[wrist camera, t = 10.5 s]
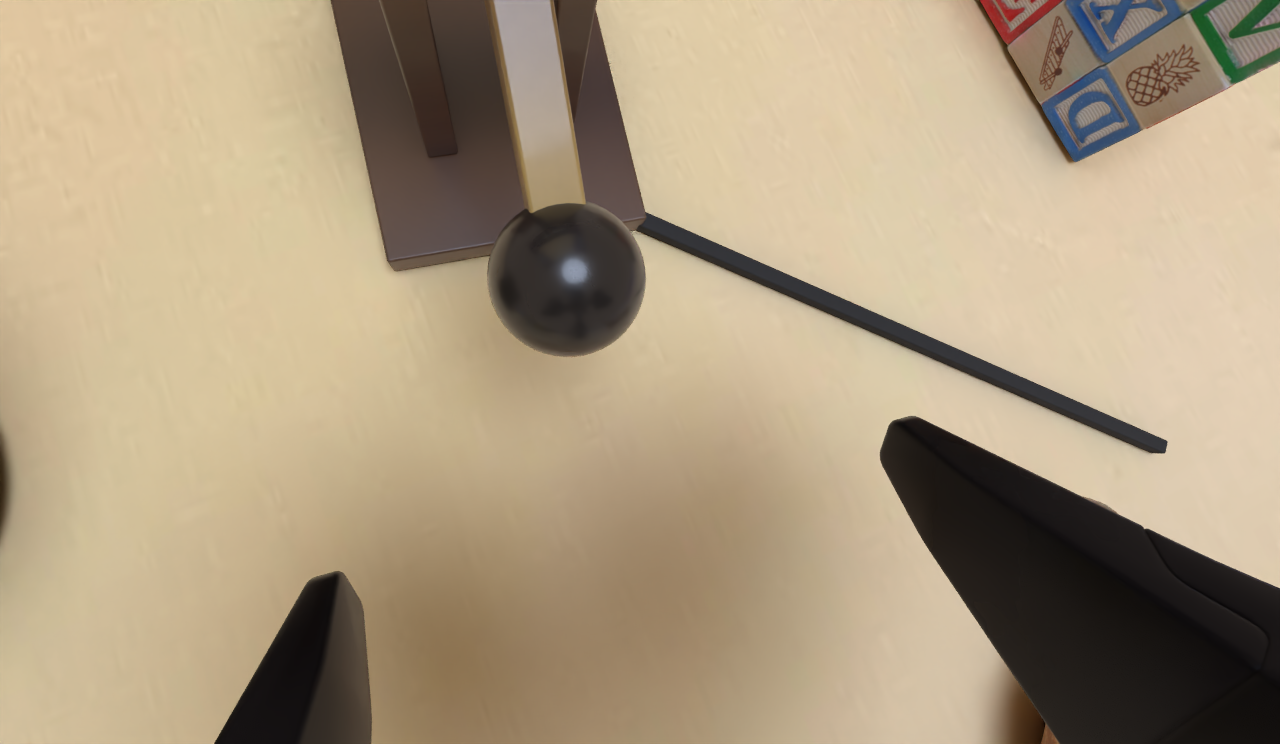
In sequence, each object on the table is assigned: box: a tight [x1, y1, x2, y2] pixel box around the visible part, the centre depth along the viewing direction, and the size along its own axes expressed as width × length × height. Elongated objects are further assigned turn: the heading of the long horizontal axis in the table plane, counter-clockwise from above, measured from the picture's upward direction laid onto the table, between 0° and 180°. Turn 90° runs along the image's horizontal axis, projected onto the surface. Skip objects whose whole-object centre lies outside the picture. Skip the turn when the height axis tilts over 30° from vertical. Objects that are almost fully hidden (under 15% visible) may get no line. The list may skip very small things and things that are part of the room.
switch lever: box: [484, 0, 646, 357], centre depth 11 cm, size 13×3×3 cm, turn 14°
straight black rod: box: [636, 212, 1167, 453], centre depth 24 cm, size 25×1×1 cm, turn 70°
